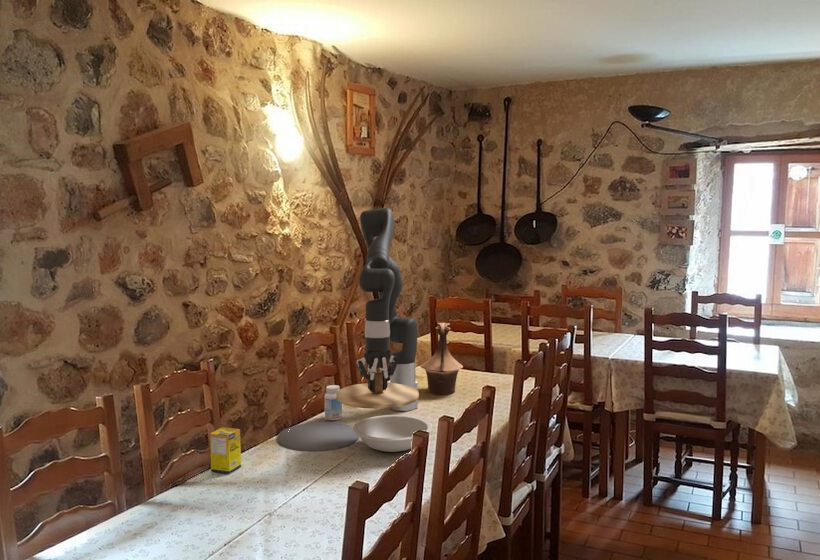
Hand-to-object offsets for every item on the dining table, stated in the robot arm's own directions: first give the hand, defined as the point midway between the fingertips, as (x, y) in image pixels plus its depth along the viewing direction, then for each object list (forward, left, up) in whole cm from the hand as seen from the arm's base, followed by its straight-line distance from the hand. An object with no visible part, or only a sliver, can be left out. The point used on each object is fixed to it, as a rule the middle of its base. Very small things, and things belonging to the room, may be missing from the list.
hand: (377, 390), depth 200 cm
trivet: (+13, -16, -17) cm, 27 cm away
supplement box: (+45, -2, -17) cm, 49 cm away
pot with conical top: (-49, -45, -17) cm, 69 cm away
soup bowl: (-3, +4, -17) cm, 18 cm away
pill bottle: (+2, -32, -17) cm, 37 cm away
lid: (0, 0, -2) cm, 2 cm away
